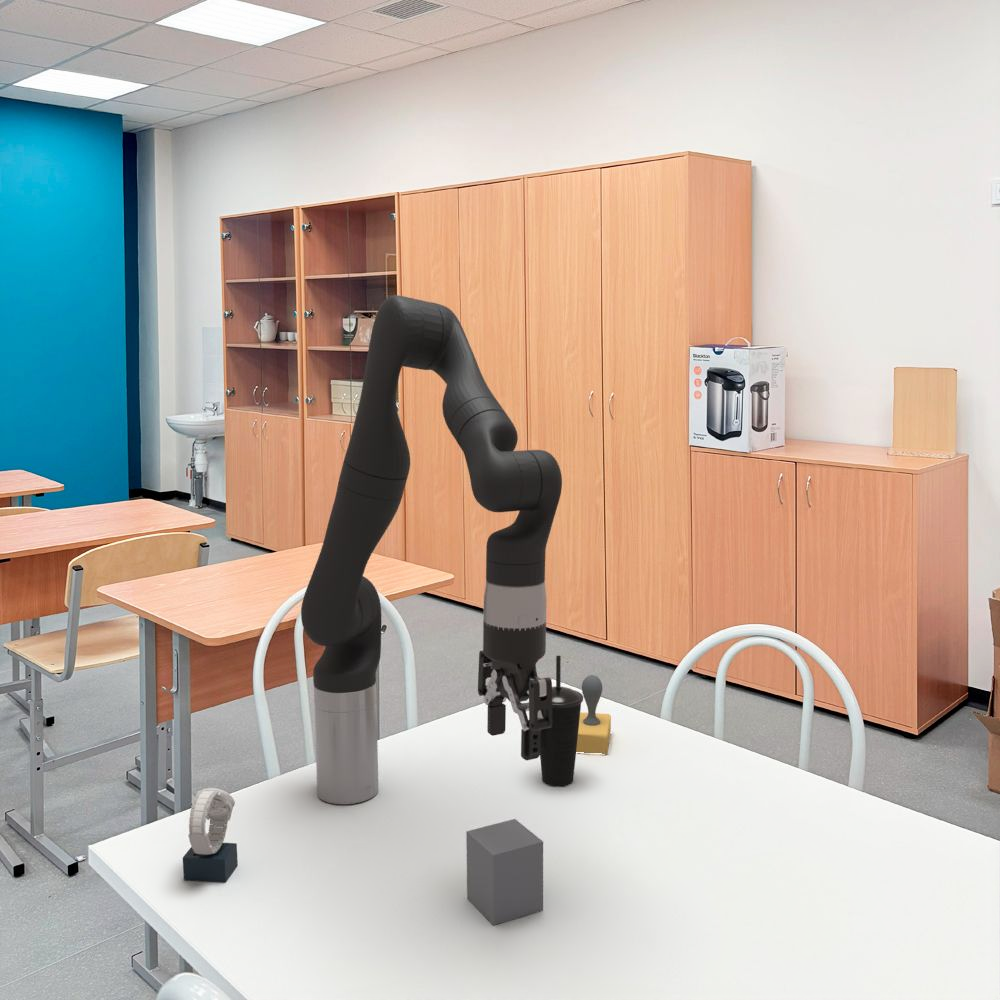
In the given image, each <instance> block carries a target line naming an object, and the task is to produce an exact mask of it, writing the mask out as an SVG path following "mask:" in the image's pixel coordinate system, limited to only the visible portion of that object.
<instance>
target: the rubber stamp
mask: <svg viewBox="0 0 1000 1000" xmlns="http://www.w3.org/2000/svg"><path fill="white" fill-rule="evenodd" d="M581 692H582V693H581V694H582V695H583V700H584V701H585V704H586V707H587V712H581V711H580V719H579V729H578V739H577V749H576V752H584V753H602V754H606V753H607V754H608V752H609V746H608V745H610V739H611V738H610V737H611V733H612V732H611V730H612V727H611V726H612V725H611V724H612V721H611V718H612V717H611V715H610V713H599V712H598V713H596V712H597V708H598V707H597V706H598V704H599V703H600V702H599V701H600V699H601V697H602V693H603V683H602V680H601V679H600V678H599V677H598V676H597V675H594V674H590V675H588V676H586V677H585V678H584V679H583V681H582V683H581ZM610 732H611V733H610ZM609 738H610V739H609ZM607 754H606V755H607Z"/></svg>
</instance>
